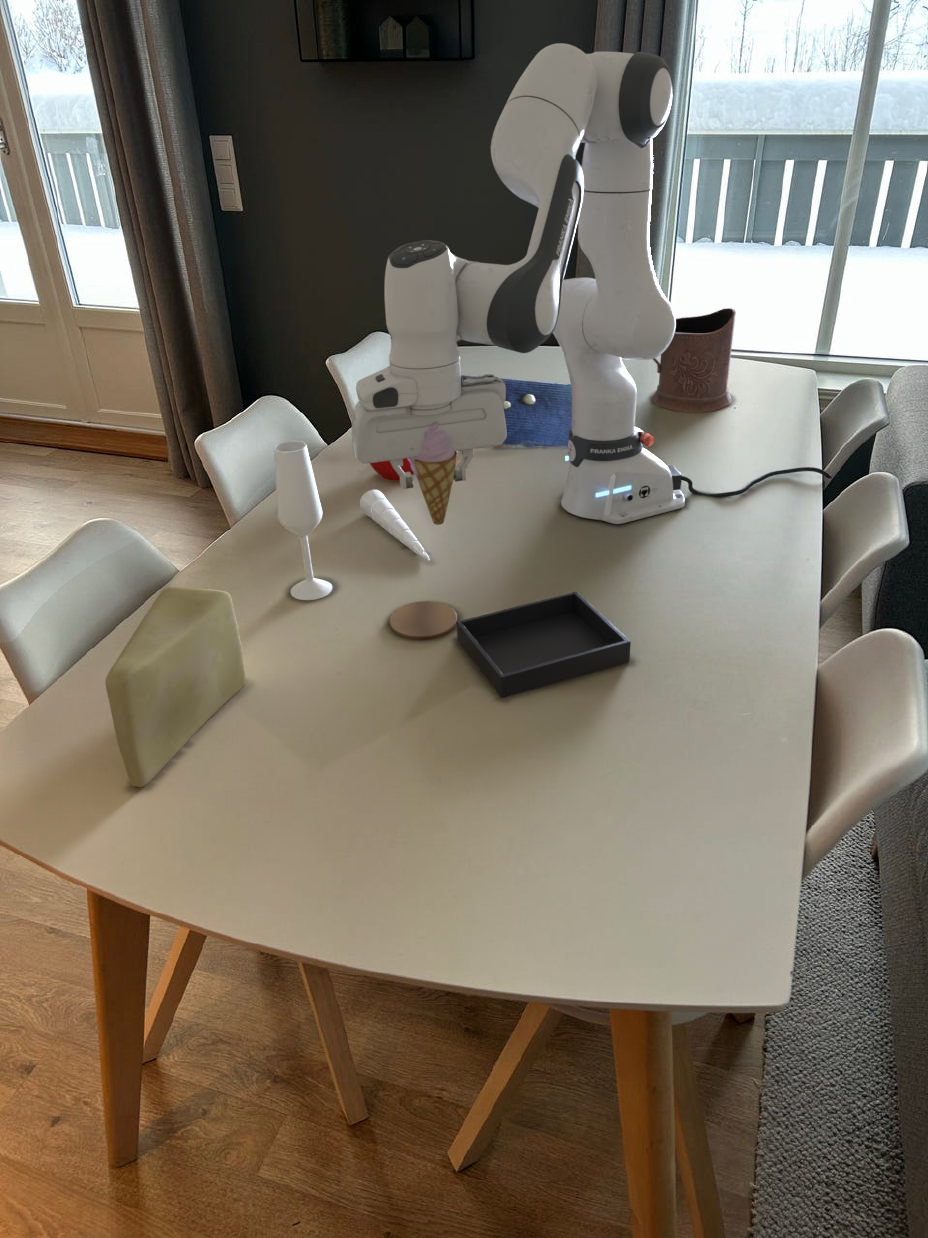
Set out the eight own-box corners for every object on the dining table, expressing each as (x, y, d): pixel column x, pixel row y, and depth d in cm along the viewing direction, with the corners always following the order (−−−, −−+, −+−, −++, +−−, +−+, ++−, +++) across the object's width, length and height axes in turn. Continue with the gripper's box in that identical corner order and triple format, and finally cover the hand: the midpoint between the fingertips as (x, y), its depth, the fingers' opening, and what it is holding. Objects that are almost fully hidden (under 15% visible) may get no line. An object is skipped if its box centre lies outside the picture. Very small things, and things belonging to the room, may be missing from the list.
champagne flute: (294, 579, 147) (272, 438, 135) (335, 578, 147) (316, 437, 134) (286, 600, 141) (262, 455, 129) (329, 599, 141) (308, 454, 129)
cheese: (175, 794, 104) (146, 689, 97) (99, 785, 106) (65, 681, 98) (251, 683, 123) (232, 586, 115) (185, 676, 125) (162, 581, 117)
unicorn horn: (408, 568, 149) (406, 542, 146) (359, 515, 167) (357, 491, 165) (435, 561, 150) (433, 535, 148) (383, 509, 169) (381, 485, 166)
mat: (589, 414, 216) (593, 372, 207) (582, 487, 198) (586, 445, 189) (404, 400, 221) (400, 359, 212) (380, 471, 203) (376, 429, 194)
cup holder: (740, 410, 207) (754, 296, 194) (634, 413, 208) (641, 301, 195) (721, 385, 223) (733, 279, 210) (623, 389, 224) (629, 283, 211)
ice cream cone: (423, 537, 121) (415, 430, 113) (404, 520, 126) (395, 416, 118) (467, 525, 124) (462, 419, 116) (447, 508, 128) (441, 406, 120)
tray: (575, 610, 136) (576, 591, 134) (629, 661, 123) (630, 641, 122) (457, 641, 130) (456, 621, 128) (501, 698, 118) (501, 677, 116)
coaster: (448, 599, 140) (448, 596, 139) (464, 632, 131) (464, 629, 131) (384, 610, 138) (384, 607, 138) (397, 644, 129) (396, 641, 129)
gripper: (498, 365, 119) (500, 464, 126) (343, 384, 115) (355, 485, 122) (512, 379, 114) (513, 481, 121) (351, 398, 110) (362, 503, 117)
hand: (433, 483), depth 122 cm, fingers closed on ice cream cone, 6 cm apart
